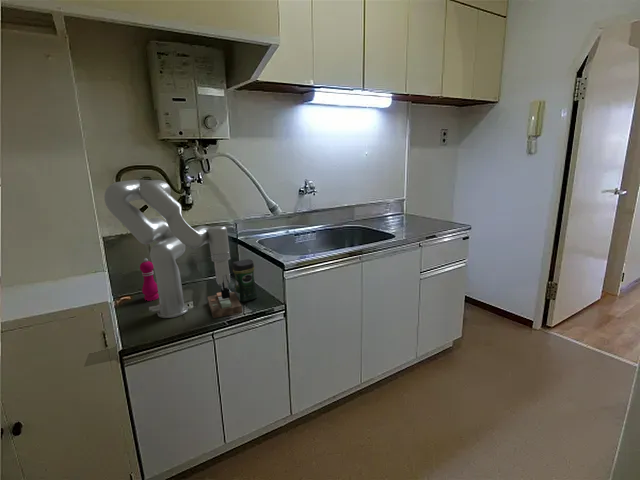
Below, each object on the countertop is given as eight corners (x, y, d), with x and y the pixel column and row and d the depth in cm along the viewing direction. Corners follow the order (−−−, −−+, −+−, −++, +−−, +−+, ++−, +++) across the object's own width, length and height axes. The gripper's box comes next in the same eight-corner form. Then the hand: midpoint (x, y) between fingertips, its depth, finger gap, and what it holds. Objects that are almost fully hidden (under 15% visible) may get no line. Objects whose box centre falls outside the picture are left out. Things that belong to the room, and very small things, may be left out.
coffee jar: (252, 293, 179) (249, 256, 174) (259, 298, 172) (256, 260, 168) (233, 298, 174) (229, 260, 169) (239, 303, 167) (235, 264, 163)
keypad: (213, 318, 154) (212, 311, 153) (208, 302, 170) (207, 296, 169) (242, 312, 158) (241, 305, 157) (234, 297, 174) (233, 291, 174)
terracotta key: (218, 302, 166) (217, 295, 165) (217, 298, 170) (216, 293, 169) (227, 300, 168) (226, 294, 167) (226, 297, 171) (225, 291, 171)
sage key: (222, 311, 156) (221, 304, 156) (220, 307, 160) (220, 301, 159) (231, 309, 158) (231, 303, 157) (230, 306, 161) (229, 299, 161)
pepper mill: (148, 302, 173) (141, 261, 168) (140, 299, 177) (133, 259, 172) (163, 297, 178) (156, 257, 174) (155, 294, 183) (148, 255, 178)
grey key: (220, 306, 161) (219, 300, 161) (218, 303, 165) (218, 297, 164) (229, 304, 163) (228, 298, 162) (228, 301, 166) (227, 295, 166)
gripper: (209, 253, 159) (214, 293, 163) (213, 262, 145) (219, 305, 150) (227, 250, 161) (231, 290, 166) (233, 259, 148) (238, 302, 152)
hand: (226, 297), depth 158 cm, fingers closed
